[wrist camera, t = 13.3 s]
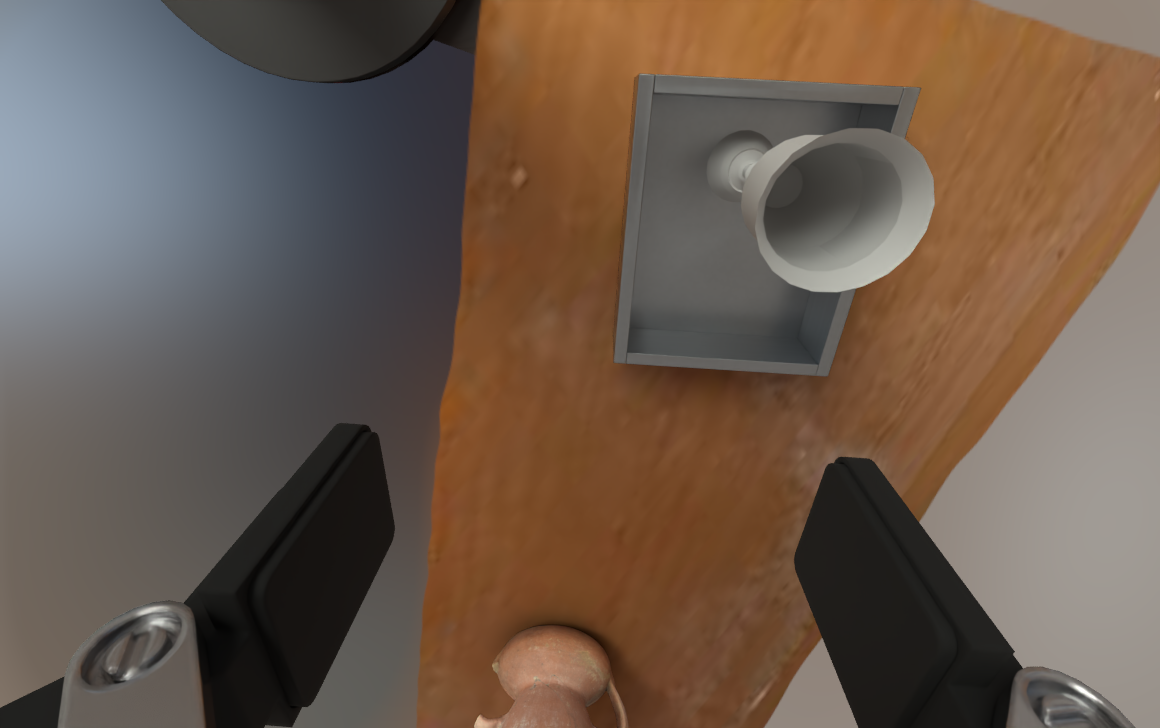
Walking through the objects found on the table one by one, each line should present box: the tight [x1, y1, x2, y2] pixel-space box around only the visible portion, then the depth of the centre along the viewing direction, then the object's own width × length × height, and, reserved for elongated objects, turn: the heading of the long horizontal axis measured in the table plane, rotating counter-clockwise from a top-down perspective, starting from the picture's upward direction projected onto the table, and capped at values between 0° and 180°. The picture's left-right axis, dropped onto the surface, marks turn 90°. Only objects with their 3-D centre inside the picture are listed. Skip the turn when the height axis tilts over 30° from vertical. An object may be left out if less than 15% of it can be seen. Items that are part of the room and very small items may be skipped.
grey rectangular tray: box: [613, 74, 921, 376], centre depth 37 cm, size 17×20×5 cm
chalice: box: [706, 128, 934, 292], centre depth 29 cm, size 7×7×18 cm
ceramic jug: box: [474, 625, 629, 728], centre depth 60 cm, size 18×14×14 cm
